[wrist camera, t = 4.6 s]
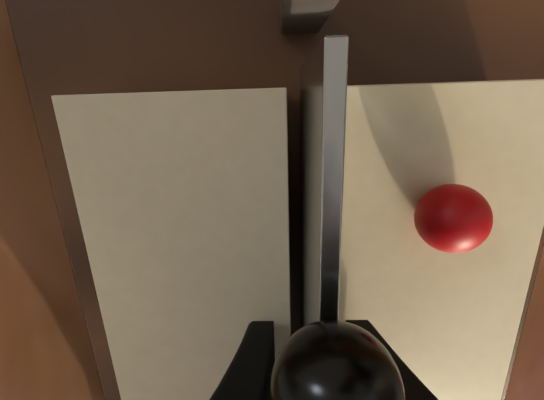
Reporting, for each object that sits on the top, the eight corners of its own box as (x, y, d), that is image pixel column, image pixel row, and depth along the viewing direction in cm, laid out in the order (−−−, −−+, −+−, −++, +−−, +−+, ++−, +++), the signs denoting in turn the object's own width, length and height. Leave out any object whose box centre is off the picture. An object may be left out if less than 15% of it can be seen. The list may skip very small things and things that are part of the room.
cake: (435, 412, 15) (504, 555, 10) (171, 412, 15) (124, 551, 10) (489, 82, 10) (655, 73, 6) (117, 94, 11) (-4, 96, 6)
